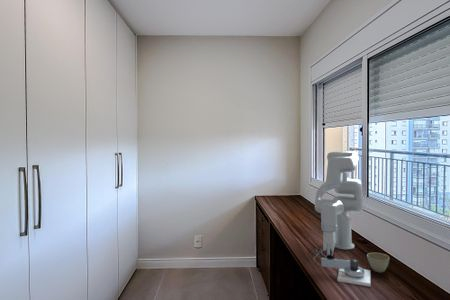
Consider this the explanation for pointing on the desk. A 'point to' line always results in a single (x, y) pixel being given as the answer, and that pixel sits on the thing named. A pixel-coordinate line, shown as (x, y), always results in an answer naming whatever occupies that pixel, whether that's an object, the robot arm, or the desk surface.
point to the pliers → (319, 253)
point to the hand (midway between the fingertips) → (330, 262)
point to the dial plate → (360, 281)
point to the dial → (344, 266)
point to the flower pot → (378, 261)
